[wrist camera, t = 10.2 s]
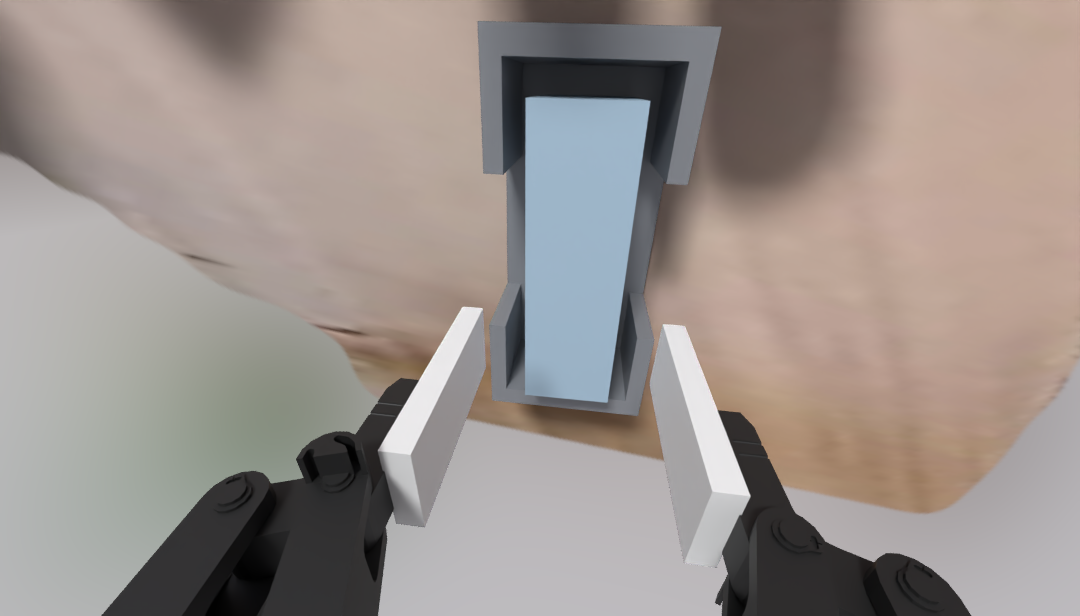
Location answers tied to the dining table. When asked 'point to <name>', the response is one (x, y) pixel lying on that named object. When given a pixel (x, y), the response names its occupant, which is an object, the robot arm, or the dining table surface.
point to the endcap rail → (671, 136)
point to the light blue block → (578, 237)
